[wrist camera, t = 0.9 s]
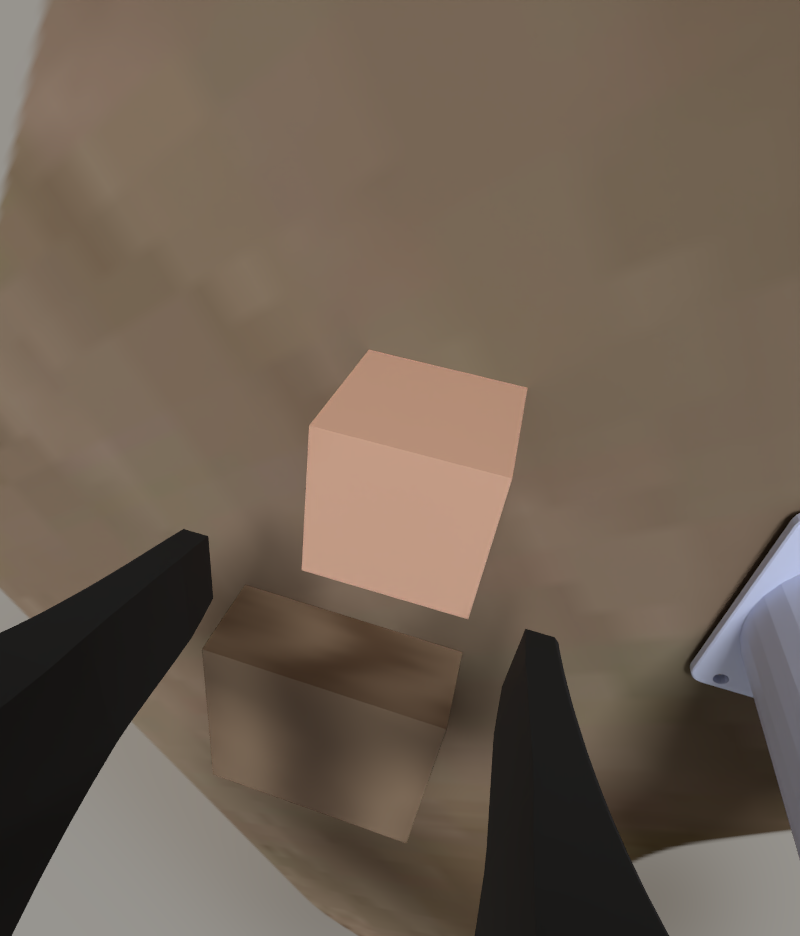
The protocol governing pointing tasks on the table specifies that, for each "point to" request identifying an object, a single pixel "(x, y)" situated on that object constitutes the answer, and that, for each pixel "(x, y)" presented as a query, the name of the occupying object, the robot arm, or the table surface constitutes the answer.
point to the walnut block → (326, 709)
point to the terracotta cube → (410, 480)
